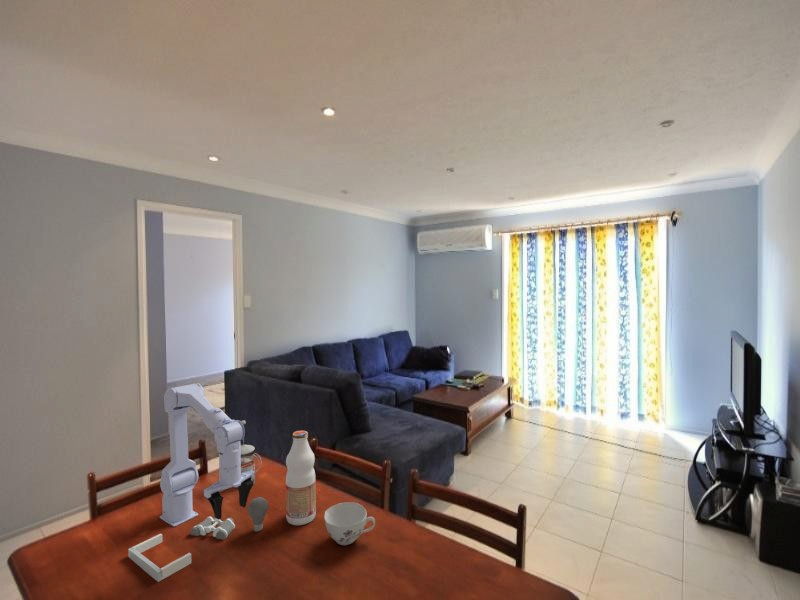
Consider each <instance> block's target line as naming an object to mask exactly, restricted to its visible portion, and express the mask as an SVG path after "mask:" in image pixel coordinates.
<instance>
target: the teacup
mask: <svg viewBox="0 0 800 600" xmlns="http://www.w3.org/2000/svg"><path fill="white" fill-rule="evenodd" d="M367 513H368V511H367V510H366V508H365V507H364V506H363V505H362V504H359V503H358V502H351V501H349V502H348V501H347V502H340V503H337V504H335V505H331V506H330V507H329V508H327V509H326V510H325V512H324V517H323V518H324V522H325V528H326V530H327V534H328V535H329V536H330V537H331V538H332V539H333V540H334V541H335V542H336V543H337V544H338V545H341V546H348V545H350V544H353V543H354V542H355V541H356V540H357V539H358V538H359V537H360V536H361V535H362V534H365V533H368V532H371V531H372V530H373V529H374V528H375V526H376V519H375V517H373V516H368V514H367ZM367 516H368V517H367ZM368 522H372V525H371V526H370V527H367V528H366V529H365V527H366V525H367V523H368Z"/></svg>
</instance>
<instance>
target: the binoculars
mask: <svg viewBox="0 0 800 600" xmlns="http://www.w3.org/2000/svg"><path fill="white" fill-rule="evenodd" d="M217 525H218V526H217ZM216 526H217V527H216ZM235 527H236V524H235V521H234V518H232V517H228V518H227V519H225V520H224V521H222V520H221V519H219V520H218V519H217V518H215V516H214V517H212V516H207V517H206V518H205V519H204V520H203V521H201V522H200V523H198V524H196V525H194V526H193V527H192V528H191V529H190V531H189V535H190V536H195V537H199V536H206V535H207V534H210V533H211V532H213V533H212V537H214V538H216V539H217V540H222V541H224V540H226V539H227V537H228V536H229V535H230V534H231V532H232V531H234V529H235Z"/></svg>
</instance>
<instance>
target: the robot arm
mask: <svg viewBox="0 0 800 600" xmlns="http://www.w3.org/2000/svg"><path fill="white" fill-rule="evenodd" d="M163 407H164V412H165V413H168V426H169V427H168V428H169V447H170V449H169V451H170V452H169V454H170V462H169V463H168V464H166V466H165V467H164V468H163V469H162V470H161V477H160V481H159V485H160V486H159V487H160V489H161V492H162V493H163V495H162V499H161V501H162V502H161V503H162V515H159V519H161V520H162V521H164V522H165V523H167V524H168V525H170V526H172V527H176V526H179V525H181V524H183V523H185V522H187V521H189V520H191V519H193V518H195V517H198V516H199V513H198V512H196V511H194V510H193V509H194V508H193V507H194V506H193V489H194V488H195V485H196V484H197V482H198V481H199V471H198V469H197V462H196V461H194V460H192V459H190V458H189V443H188V442H189V440H188V421H187V420H188V419H187V417H188V416H187V412H188V411H189V410H190V409H191V408H193V409H194V410H195V411H196V412H197V413H199V414H200V415H201V416H202V417H203V419H202V420H203V421H202V422H203V424H204V425H205V426H206V427H207V428H208V429H209V430H210V431H211V432H212V433H213V434H214V435H213V438H214V442H215V443H216V450H217V452H218V467H219V468H218V473H219V478H218V481H216V482H214V483H213V484H211V485H210V486H209V487H206V488H204V489H203V497H205V498H206V499H207V500H208V502H209V504H210V505H211V506H210V507H211V508H212V512H213V514H214V517H215V518H217V519H218V520H219V519H220V520H221V519H222V517H223V516H222V513H223V510H222V509H223V508H222V507H223V500H224V496H222V495H221V493H220V492H222V491H223V492H224V490H227V489H231V488H236V487H237V486H238V488H237V489H238V503H239V506H240V507H242V508H246V506H247V502H248V499H249V495H250V492H251V490H252V488H253V486H254V484H255V482H254V481H252V480H251V479H253V478H254V471H251V470H250V471H245V472H243V473H241V468H242V466H241V457H242V455H241V445H242V444H241V441H243V438H244V439H245V436H246V435H245V434H246V431H245V430H246V429H245V426H243V424H242V423H241V420H238V419H236V420H235V419H231V418H230V417H229V416H228V415H227V414H226V413H225V412H224V411H223V410H222V409H221V408H220V407H213V405H212V403H210V401H209V400H208V399H207V397H205V389H204V387H203V386H202V385H201V383H199V382H195V383H190V384H186V385H181V386H177V387H170V388H167V390H166V391H165V392H164V394H163Z"/></svg>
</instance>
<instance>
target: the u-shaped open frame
mask: <svg viewBox="0 0 800 600" xmlns="http://www.w3.org/2000/svg"><path fill="white" fill-rule="evenodd" d="M161 543H163V534H162V533H159V534H156V535H154V536H152V537H150V538H149V539H146V540H144V541H142V542H140V543H138V544H136V545H134V546H132V547H131V546H130V547H129V548H128V549H127V550H128V554H127V556H128V558H129V559H130V560H131V561H133V562H134V563H135V564H136V565H137V566H139V567H140V568H141V569H142V570H143V571H144V572H145V573H147V574H148V575H149V576H150V577H151V578H153V579H154V580H155V581H156V582H157V583H159V582H161V581H162V580H163V581H164V579H166V578H168V577H170V576H172V575H173V574H175V573H176V572H178V571H181V570H182V569H184V568H185V567H187V566H189V565H190V564H192V553H191V552H188V553H186V554H185V555H182V556H181V557H178V558H177V559H174V560H173V561H172V562H169V563H168V564H166V565H164V566H163V567H161V568H160V567H159V566H158V565H156V564H155V563H154V562H152V561H151V560H150V559H149V558H148V557H146V556H145V555H143V554H142V553H143V552H145V551H147V550H149V549H152V548H153V547H156V546H157V545H159V544H161Z"/></svg>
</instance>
